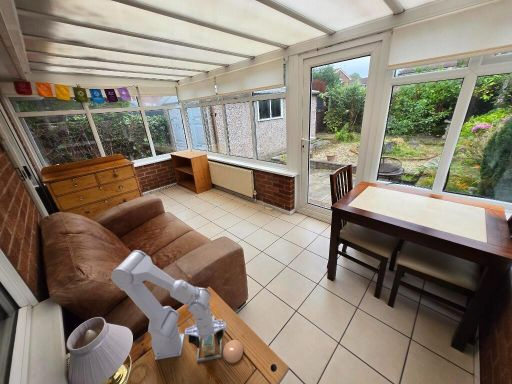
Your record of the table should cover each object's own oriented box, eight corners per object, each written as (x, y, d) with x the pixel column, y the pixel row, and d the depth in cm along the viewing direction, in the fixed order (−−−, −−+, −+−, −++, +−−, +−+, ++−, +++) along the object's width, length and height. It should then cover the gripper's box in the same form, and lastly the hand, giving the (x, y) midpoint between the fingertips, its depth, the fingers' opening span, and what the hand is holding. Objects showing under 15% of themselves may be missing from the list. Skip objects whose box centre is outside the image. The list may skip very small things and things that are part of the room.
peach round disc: (223, 365, 74) (223, 363, 74) (223, 343, 81) (223, 341, 81) (243, 361, 75) (243, 359, 75) (242, 339, 82) (242, 338, 82)
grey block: (205, 336, 84) (203, 326, 82) (206, 326, 88) (204, 317, 85) (215, 334, 84) (214, 324, 82) (216, 325, 88) (214, 315, 86)
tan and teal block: (204, 356, 77) (202, 346, 75) (205, 345, 81) (203, 335, 78) (214, 354, 78) (213, 344, 75) (215, 343, 81) (213, 333, 79)
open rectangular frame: (196, 362, 75) (196, 360, 75) (201, 323, 89) (200, 322, 88) (221, 357, 76) (221, 356, 76) (222, 320, 90) (221, 319, 89)
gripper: (180, 334, 68) (187, 359, 73) (224, 327, 69) (228, 351, 75) (184, 314, 74) (190, 338, 80) (224, 308, 76) (227, 332, 81)
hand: (208, 343), depth 78 cm, fingers open, 7 cm apart
